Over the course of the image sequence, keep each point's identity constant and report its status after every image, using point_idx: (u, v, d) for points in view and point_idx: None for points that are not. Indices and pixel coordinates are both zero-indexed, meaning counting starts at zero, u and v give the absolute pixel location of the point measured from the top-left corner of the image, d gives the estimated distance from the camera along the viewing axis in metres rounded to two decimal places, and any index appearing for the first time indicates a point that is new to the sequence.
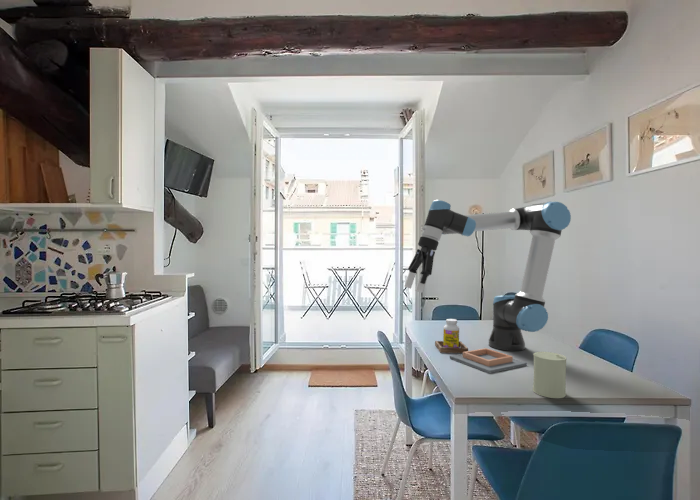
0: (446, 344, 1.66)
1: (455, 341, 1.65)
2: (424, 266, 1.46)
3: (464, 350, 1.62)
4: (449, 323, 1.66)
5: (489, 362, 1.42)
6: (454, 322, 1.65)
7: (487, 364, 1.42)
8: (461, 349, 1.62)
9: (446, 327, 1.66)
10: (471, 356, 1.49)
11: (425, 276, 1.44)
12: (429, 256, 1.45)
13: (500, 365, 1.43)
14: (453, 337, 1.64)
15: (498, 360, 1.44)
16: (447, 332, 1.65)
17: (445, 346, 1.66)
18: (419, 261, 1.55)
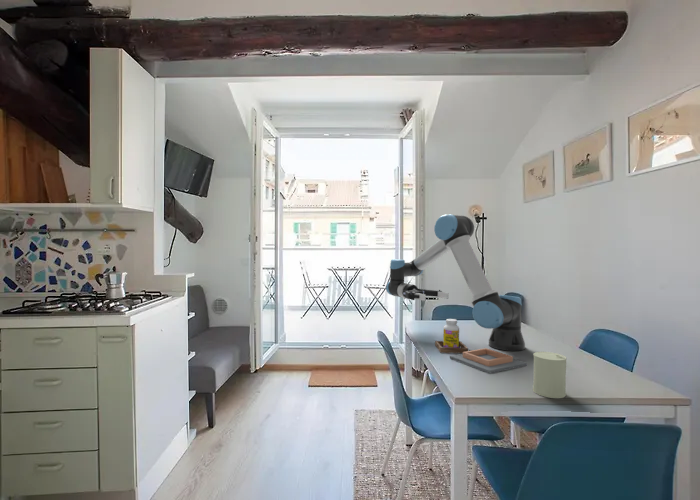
0: (446, 344, 1.66)
1: (455, 341, 1.65)
2: None
3: (464, 350, 1.62)
4: (449, 323, 1.66)
5: (489, 362, 1.42)
6: (454, 322, 1.65)
7: (487, 364, 1.42)
8: (461, 349, 1.62)
9: (446, 327, 1.66)
10: (471, 356, 1.49)
11: (413, 296, 1.77)
12: (405, 294, 1.85)
13: (500, 365, 1.43)
14: (453, 337, 1.64)
15: (498, 360, 1.44)
16: (447, 332, 1.65)
17: (445, 346, 1.66)
18: (425, 293, 1.88)
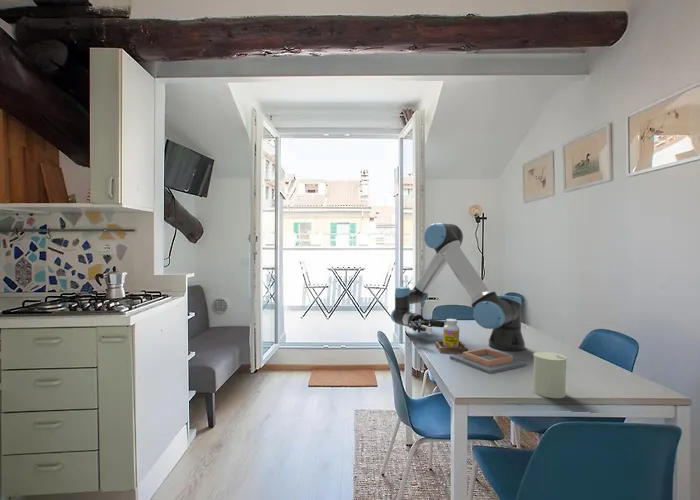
0: (446, 344, 1.66)
1: (455, 341, 1.65)
2: None
3: (464, 350, 1.62)
4: (449, 323, 1.66)
5: (489, 362, 1.42)
6: (454, 322, 1.65)
7: (487, 364, 1.42)
8: (461, 349, 1.62)
9: (446, 327, 1.66)
10: (471, 356, 1.49)
11: (419, 328, 1.73)
12: (411, 326, 1.81)
13: (500, 365, 1.43)
14: (453, 337, 1.64)
15: (498, 360, 1.44)
16: (447, 332, 1.65)
17: (445, 346, 1.66)
18: (431, 323, 1.84)
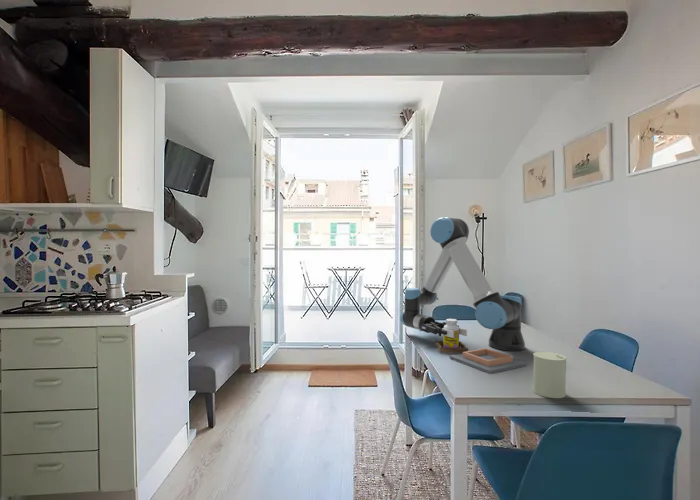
0: (446, 344, 1.66)
1: (455, 341, 1.65)
2: None
3: (464, 350, 1.62)
4: (449, 323, 1.66)
5: (489, 362, 1.42)
6: (454, 322, 1.65)
7: (487, 364, 1.42)
8: (461, 349, 1.62)
9: (446, 327, 1.66)
10: (471, 356, 1.49)
11: (440, 331, 1.66)
12: (426, 329, 1.73)
13: (500, 365, 1.43)
14: None
15: (498, 360, 1.44)
16: None
17: (445, 346, 1.66)
18: (442, 327, 1.76)
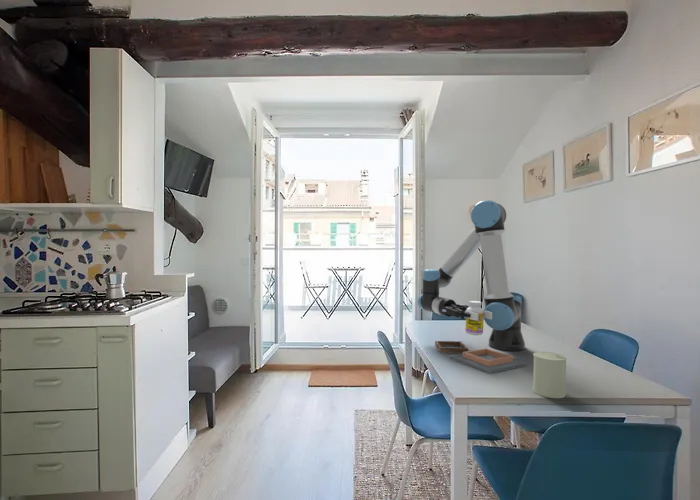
0: (469, 328, 1.52)
1: (479, 325, 1.51)
2: None
3: (464, 350, 1.62)
4: (473, 305, 1.52)
5: (489, 362, 1.42)
6: (478, 304, 1.51)
7: (487, 364, 1.42)
8: (461, 349, 1.62)
9: (469, 309, 1.52)
10: (471, 356, 1.49)
11: (463, 314, 1.52)
12: (446, 312, 1.59)
13: (500, 365, 1.43)
14: (477, 321, 1.51)
15: (498, 360, 1.44)
16: None
17: (468, 330, 1.52)
18: (464, 310, 1.62)
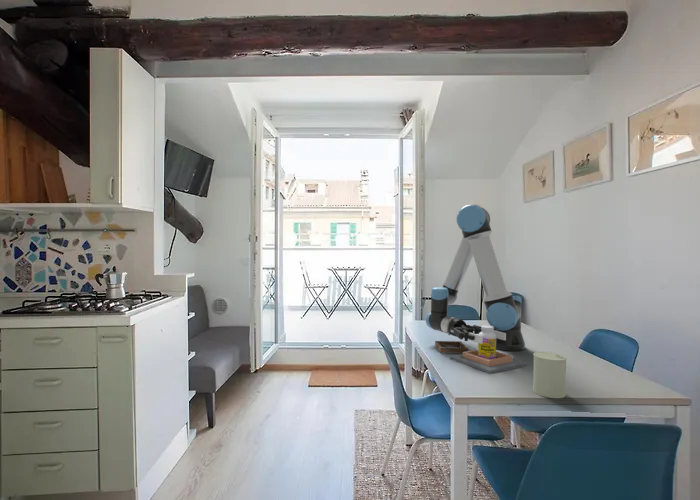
0: (482, 354, 1.48)
1: (492, 351, 1.47)
2: None
3: (464, 350, 1.62)
4: (485, 330, 1.48)
5: (489, 362, 1.42)
6: (491, 329, 1.48)
7: (487, 364, 1.42)
8: (461, 349, 1.62)
9: (482, 335, 1.49)
10: (471, 356, 1.49)
11: (466, 336, 1.49)
12: (454, 333, 1.56)
13: (500, 365, 1.43)
14: (490, 346, 1.47)
15: (498, 360, 1.44)
16: (483, 340, 1.48)
17: (480, 356, 1.49)
18: (476, 330, 1.59)
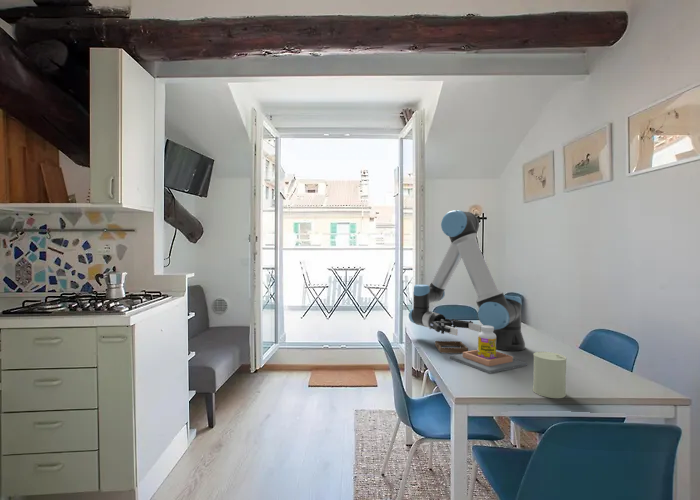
0: (482, 354, 1.48)
1: (492, 351, 1.47)
2: None
3: (464, 350, 1.62)
4: (485, 330, 1.48)
5: (489, 362, 1.42)
6: (491, 329, 1.48)
7: (487, 364, 1.42)
8: (461, 349, 1.62)
9: (482, 335, 1.49)
10: (471, 356, 1.49)
11: (443, 329, 1.60)
12: (433, 326, 1.67)
13: (500, 365, 1.43)
14: (490, 346, 1.47)
15: (498, 360, 1.44)
16: (483, 340, 1.48)
17: (480, 356, 1.49)
18: (454, 324, 1.70)
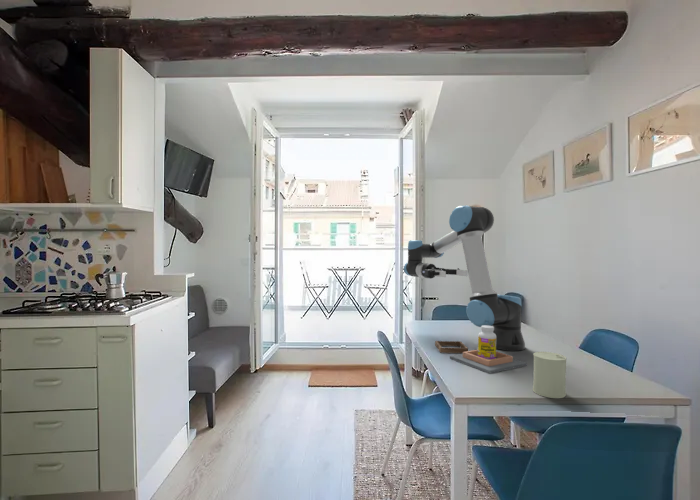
0: (482, 354, 1.48)
1: (492, 351, 1.47)
2: None
3: (464, 350, 1.62)
4: (485, 330, 1.48)
5: (489, 362, 1.42)
6: (491, 329, 1.48)
7: (487, 364, 1.42)
8: (461, 349, 1.62)
9: (482, 335, 1.49)
10: (471, 356, 1.49)
11: (433, 273, 1.81)
12: (424, 273, 1.88)
13: (500, 365, 1.43)
14: (490, 346, 1.47)
15: (498, 360, 1.44)
16: (483, 340, 1.48)
17: (480, 356, 1.49)
18: None
